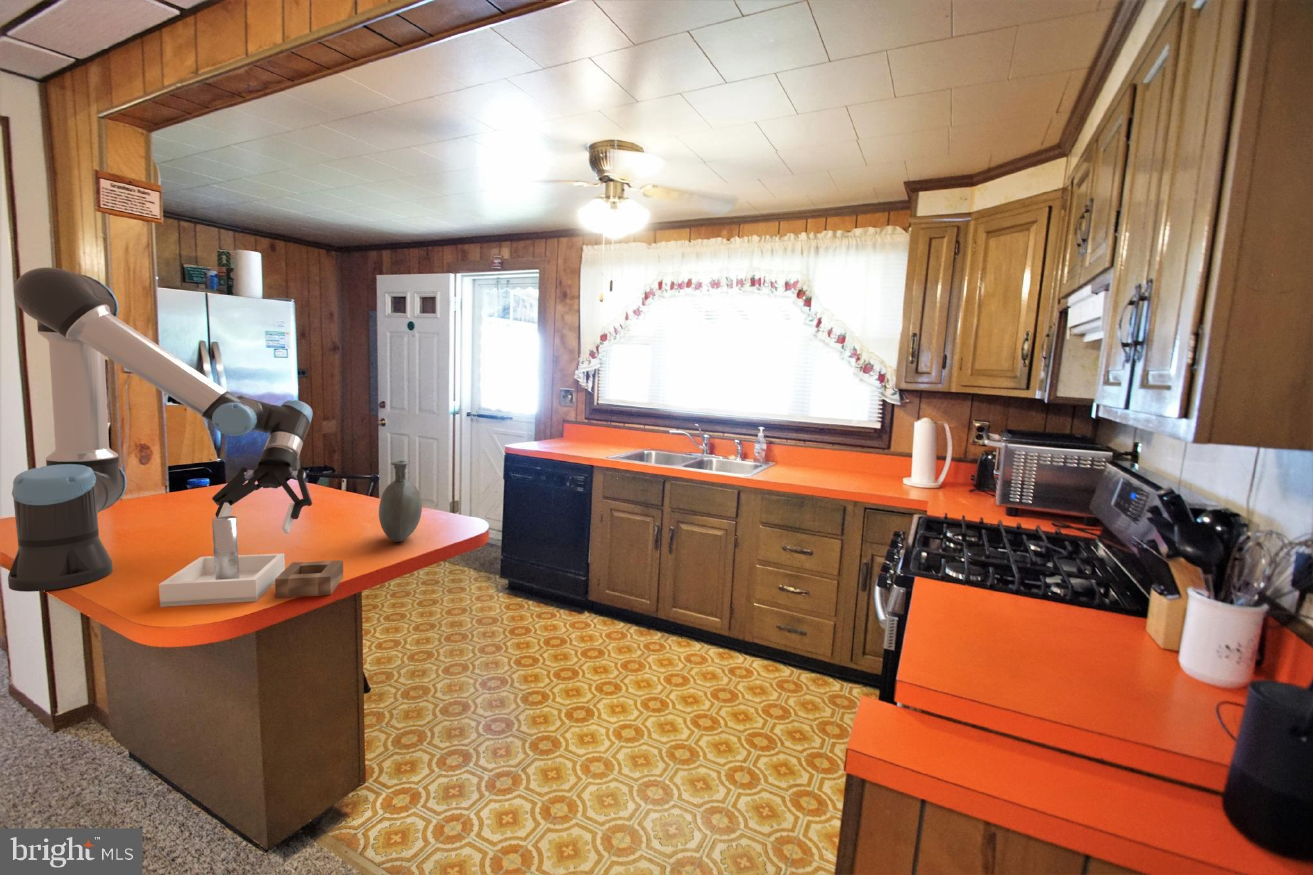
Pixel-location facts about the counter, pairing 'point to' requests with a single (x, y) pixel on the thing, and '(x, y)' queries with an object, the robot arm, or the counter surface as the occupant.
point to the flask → (400, 506)
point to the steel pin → (225, 547)
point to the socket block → (309, 579)
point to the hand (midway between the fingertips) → (251, 530)
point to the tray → (221, 581)
